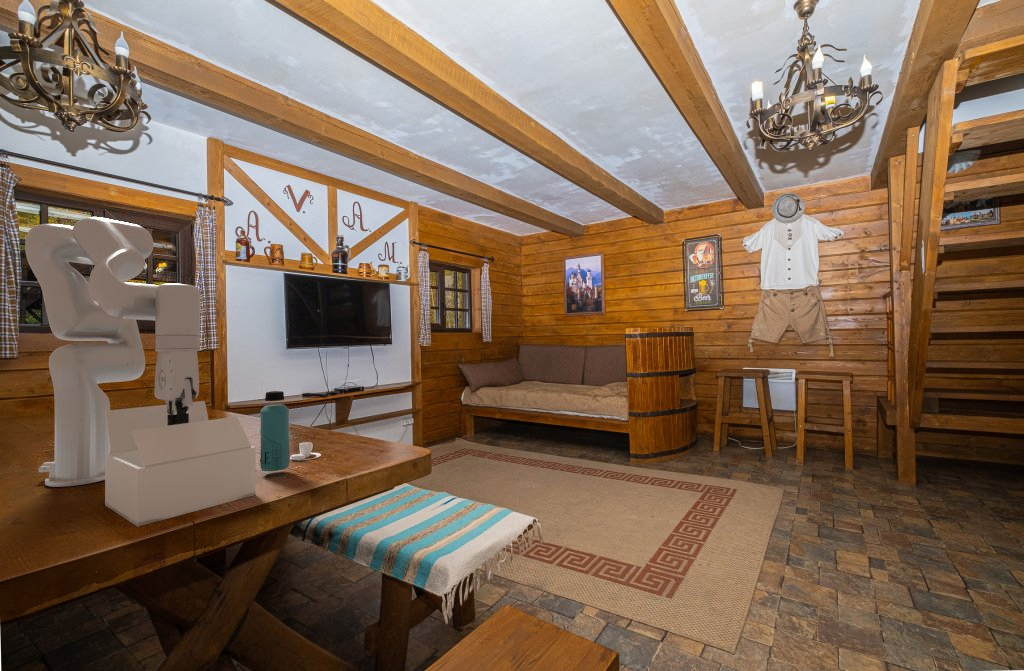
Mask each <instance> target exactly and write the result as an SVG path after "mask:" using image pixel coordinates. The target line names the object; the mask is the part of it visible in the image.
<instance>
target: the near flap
mask: <svg viewBox="0 0 1024 671" xmlns="http://www.w3.org/2000/svg"><path fill="white" fill-rule="evenodd" d="M132 434H133V437H134V439H135V442H136V445H137V448H138V450H139V453H140V456H141V459H142V461H143V464H144V467H145V468H147V467H152V466H157V465H163V464H168V463H173V462H179V461H184V460H189V459H195V458H200V457H205V456H211V455H216V454H221V453H226V452H232V451H237V450H242V449H248V448H251V446H252V443H251V442H250V439H249V438H248V436H247V434H246V433H245V430H244V428H243V426H242V424H241V422H240V421H239V419H238V416H233V417H223V418H216V419H208V420H207V421H199V422H192V423H184V424H177V425H169V426H161V427H154V428H146V429H138V430H133V431H132Z"/></svg>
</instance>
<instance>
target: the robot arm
mask: <svg viewBox="0 0 1024 671" xmlns="http://www.w3.org/2000/svg"><path fill="white" fill-rule="evenodd" d="M154 246H155V245H154V240H153V237H152V234H151V233H150V232H149V231H148V230H147V229H146V228H144V227H143V226H141V225H139V224H135V223H129V222H124V221H119V220H114V219H109V218H105V217H97V216H90V217H85V218H82V219H79V220H77V221H76V222H75V223H74V225H72V226H71V225H65V224H59V223H57V224H55V223H42V224H37V225H35V226H32V227H31V228H30V229H29V230H28V231H27V234H26V236H25V240H24V251H25V252H24V253H25V257H26V260H27V262H28V265H29V267H30V269H31V270H32V273H33V274H34V277H35V278H36V279H37V282H38V283H39V285H40V289H41V293H42V296H43V301H44V306H45V311H46V316H47V321H48V323H49V327H50V328H49V329H51V332H52V334H53V335H54V336H55V337H56V338H57V339H59V340H62V341H63V340H64V341H71V342H72V341H74V342H76V341H78V342H80V343H71V344H65V345H62V346H59V347H57V348H56V349H54V350H53V351H52V352H51V354H50V355H49V358H48V369H49V374H50V378H51V381H52V387H53V396H54V398H53V399H54V461H45V462H43V463H42V464H41V466H38V469H37V471H38V473H47V472H48V473H49V475H48V477H47V478H45V480H44V485H45V486H46V487H47V486H48V487H52V488H55V487H56V488H59V487H60V488H62V487H63V488H64V487H74V486H75V487H76V486H81V485H82V486H83V485H87V484H88V485H89V484H93V483H97V482H98V483H99V482H101V481H105V454H111V451H110V444H109V437H108V429H107V422H106V415H105V411H108V410H111V402H110V399H109V396H107V394H106V393H105V392H104V391H103V390H102V389H101V387H99V385H98V384H103V383H104V384H106V383H120V382H130V381H134V380H137V379H139V378H140V377H141V376H142V375H143V373H144V371H146V370H145V368H146V357H145V352H144V348H143V343H142V340H141V335H140V330H139V326H138V322H137V320H140V321H153V322H154V321H155V322H154V323H155V324H154V325H155V334H154V335H155V343H154V344H155V347H154V348H155V352H157V357H156V363H155V372H154V373H155V374H154V389H153V390H154V397H155V398H156V399H158V400H162V401H164V403H165V404H166V405H167V413H168V414H169V415H168V426H169V425H177V424H184V423H189V409H190V406H192V402H193V400H194V399H197V397H198V396H199V393H200V375H199V374H200V373H199V372H200V371H199V370H200V369H199V360H198V359H199V358H198V352H200V351H201V291H200V289H199V287H197V286H195V285H192V284H187V283H186V284H184V283H183V284H182V283H162V284H159V285H156V284H151V283H150V284H149V283H139V282H127V281H130V280H132V279H134V278H136V277H137V276H139V275H140V274H141V273H142V272H144V269H145V266H146V259H147V258H149V257H150V256H151V254H152V252H153V250H154ZM70 263H75V264H76V263H78V264H81V265H82V264H83V265H90V266H94V267H93V268H92V269H91V272H90V275H89V279H88V280H89V281H88V280H87V279H86V278H85V277H84V276H83V274H82V273H80V272H79V271H78V270H77V269H76V268H74V267H73V266H72V265H71V264H70ZM84 341H85V342H87V341H88V342H89V343H84ZM96 341H97V342H98V343H97V342H96ZM100 341H102V343H101V342H100ZM104 341H105V342H107V343H105V342H104ZM81 342H83V343H81ZM91 342H92V343H91ZM93 342H94V343H93ZM103 342H104V343H103Z"/></svg>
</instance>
